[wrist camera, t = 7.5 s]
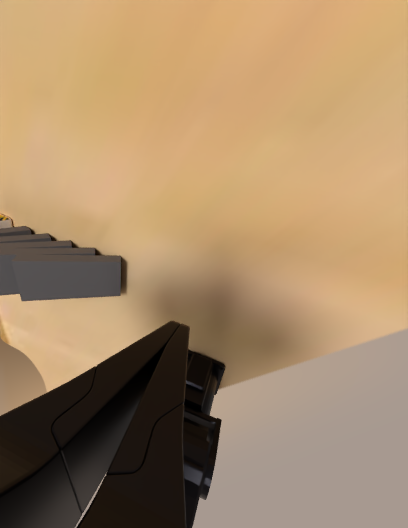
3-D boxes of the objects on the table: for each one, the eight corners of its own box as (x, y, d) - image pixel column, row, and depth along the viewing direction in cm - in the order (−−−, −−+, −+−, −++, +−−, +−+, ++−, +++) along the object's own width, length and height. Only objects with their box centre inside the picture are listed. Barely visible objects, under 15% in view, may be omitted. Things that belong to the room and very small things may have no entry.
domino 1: (55, 270, 28) (-57, 290, 21) (53, 265, 29) (-56, 282, 22) (50, 237, 26) (-77, 247, 19) (48, 233, 27) (-75, 241, 20)
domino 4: (120, 295, 26) (21, 301, 22) (120, 288, 27) (27, 292, 23) (120, 262, 24) (11, 261, 20) (120, 255, 25) (17, 253, 21)
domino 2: (75, 278, 27) (-34, 292, 22) (74, 272, 29) (-30, 284, 23) (71, 245, 25) (-51, 251, 19) (70, 240, 26) (-46, 244, 21)
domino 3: (96, 286, 27) (-7, 295, 22) (96, 280, 28) (-2, 287, 23) (95, 253, 24) (-21, 255, 20) (94, 247, 26) (-14, 248, 21)
